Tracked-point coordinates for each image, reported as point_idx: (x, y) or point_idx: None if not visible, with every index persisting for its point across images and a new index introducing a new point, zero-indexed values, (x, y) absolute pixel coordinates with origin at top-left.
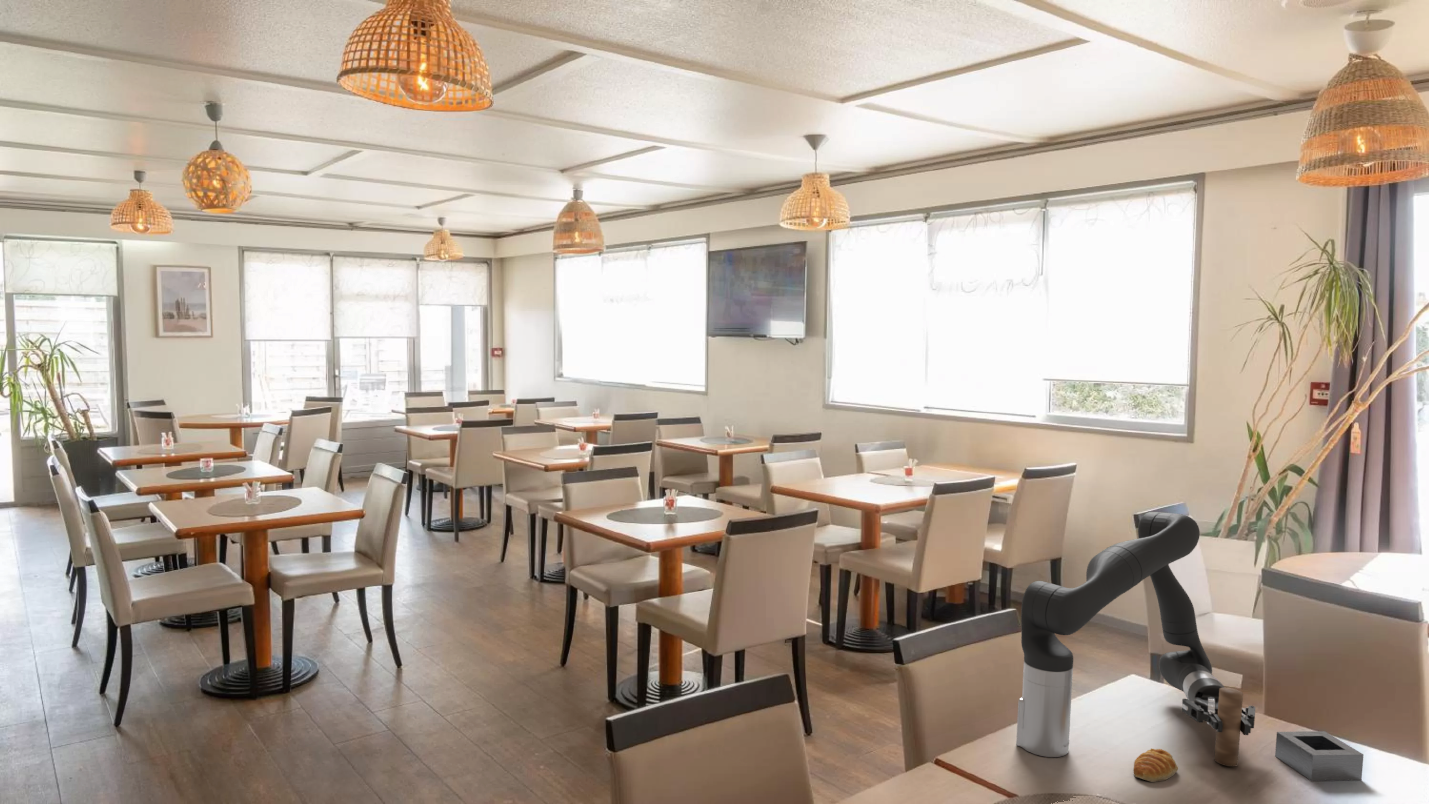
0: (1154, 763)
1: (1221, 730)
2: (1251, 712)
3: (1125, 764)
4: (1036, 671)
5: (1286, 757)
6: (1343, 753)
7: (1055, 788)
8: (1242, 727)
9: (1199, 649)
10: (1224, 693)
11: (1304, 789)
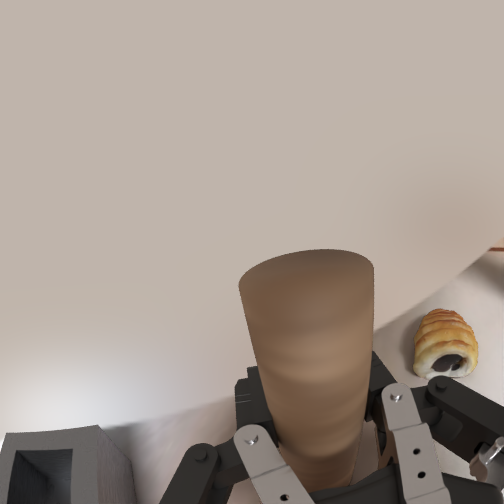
0: (437, 314)
1: None
2: (186, 487)
3: (483, 344)
4: None
5: None
6: (32, 437)
7: (479, 267)
8: None
9: None
10: (337, 251)
11: (165, 427)
